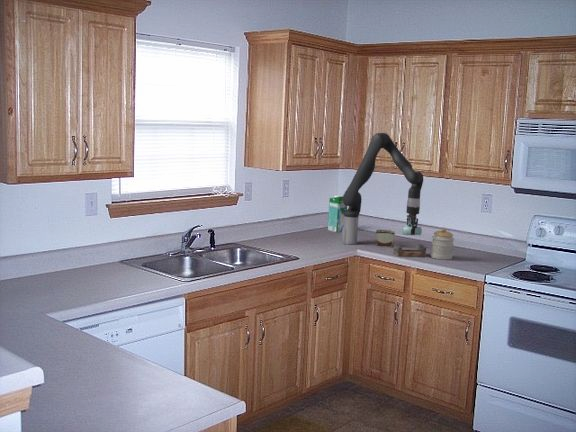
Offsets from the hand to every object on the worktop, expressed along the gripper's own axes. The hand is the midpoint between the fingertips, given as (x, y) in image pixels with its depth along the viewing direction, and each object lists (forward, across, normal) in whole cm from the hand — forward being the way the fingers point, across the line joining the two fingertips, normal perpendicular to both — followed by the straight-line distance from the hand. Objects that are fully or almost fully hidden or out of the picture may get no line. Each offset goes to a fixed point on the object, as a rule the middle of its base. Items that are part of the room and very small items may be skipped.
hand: (411, 233), depth 395 cm
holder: (+13, 0, 0) cm, 13 cm away
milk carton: (+13, -75, -28) cm, 81 cm away
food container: (+13, -26, -8) cm, 30 cm away
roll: (-2, 0, 0) cm, 2 cm away
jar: (+13, +5, +18) cm, 23 cm away
